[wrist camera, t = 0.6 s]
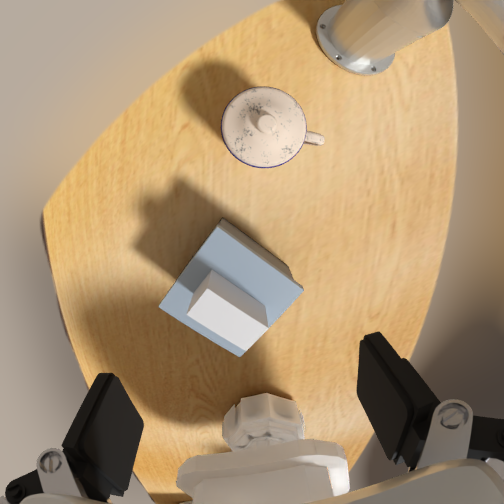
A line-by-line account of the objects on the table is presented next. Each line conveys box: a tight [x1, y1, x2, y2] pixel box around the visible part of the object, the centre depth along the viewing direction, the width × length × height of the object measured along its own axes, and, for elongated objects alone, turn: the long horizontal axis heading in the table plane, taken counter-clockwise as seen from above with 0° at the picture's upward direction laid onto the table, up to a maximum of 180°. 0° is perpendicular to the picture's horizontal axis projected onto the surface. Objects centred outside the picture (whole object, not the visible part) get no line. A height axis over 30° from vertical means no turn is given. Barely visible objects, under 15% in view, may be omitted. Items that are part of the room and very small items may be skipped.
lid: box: [159, 225, 304, 357], centre depth 33 cm, size 13×13×6 cm
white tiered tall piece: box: [176, 393, 350, 504], centre depth 36 cm, size 27×27×35 cm
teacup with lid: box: [221, 87, 324, 168], centre depth 31 cm, size 12×9×12 cm
